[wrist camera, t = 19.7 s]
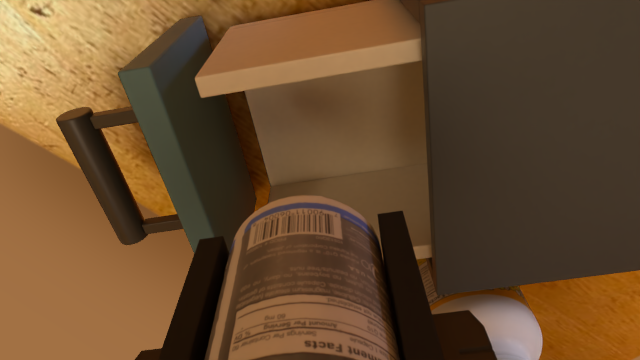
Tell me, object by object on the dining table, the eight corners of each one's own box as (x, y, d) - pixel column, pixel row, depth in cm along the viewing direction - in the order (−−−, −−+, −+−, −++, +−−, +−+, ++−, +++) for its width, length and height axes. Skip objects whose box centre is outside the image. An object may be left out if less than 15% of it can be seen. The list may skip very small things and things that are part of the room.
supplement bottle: (487, 260, 32) (574, 441, 21) (397, 278, 33) (437, 461, 22) (480, 185, 29) (580, 357, 18) (380, 208, 30) (417, 384, 19)
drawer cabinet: (400, 178, 29) (436, 296, 20) (381, -35, 22) (424, 4, 13) (654, 140, 27) (809, 249, 19) (715, -98, 21) (998, -99, 12)
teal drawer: (164, 212, 29) (115, 313, 22) (86, 36, 23) (-17, 95, 16) (468, 168, 27) (522, 260, 20) (470, -35, 21) (547, -5, 14)
